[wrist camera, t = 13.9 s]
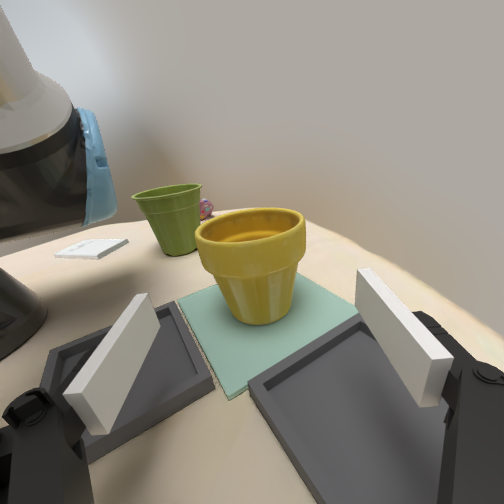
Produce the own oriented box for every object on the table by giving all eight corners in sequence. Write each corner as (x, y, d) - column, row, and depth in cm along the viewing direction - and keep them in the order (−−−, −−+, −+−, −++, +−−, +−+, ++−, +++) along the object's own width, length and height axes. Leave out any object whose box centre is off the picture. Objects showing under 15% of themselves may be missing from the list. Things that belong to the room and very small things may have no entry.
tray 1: (57, 361, 24) (49, 350, 23) (177, 310, 28) (174, 300, 28) (24, 502, 14) (10, 490, 13) (215, 388, 19) (211, 375, 18)
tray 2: (249, 394, 18) (247, 381, 17) (357, 324, 23) (358, 312, 22) (421, 671, 8) (429, 663, 8) (545, 446, 13) (556, 430, 13)
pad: (178, 303, 30) (177, 299, 30) (276, 263, 36) (276, 260, 36) (229, 400, 18) (227, 396, 18) (363, 315, 24) (364, 311, 24)
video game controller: (179, 232, 60) (175, 210, 55) (174, 221, 63) (170, 199, 58) (215, 222, 64) (215, 201, 59) (209, 212, 67) (208, 191, 62)
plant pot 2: (235, 277, 33) (222, 207, 29) (312, 282, 29) (311, 204, 25) (196, 331, 24) (170, 242, 20) (300, 348, 21) (294, 245, 16)
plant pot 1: (225, 246, 45) (213, 184, 40) (162, 270, 39) (139, 201, 34) (199, 232, 54) (187, 181, 49) (145, 250, 48) (125, 193, 43)
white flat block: (99, 262, 47) (56, 260, 51) (130, 244, 54) (89, 244, 58) (96, 254, 46) (52, 253, 50) (127, 238, 53) (86, 238, 57)
